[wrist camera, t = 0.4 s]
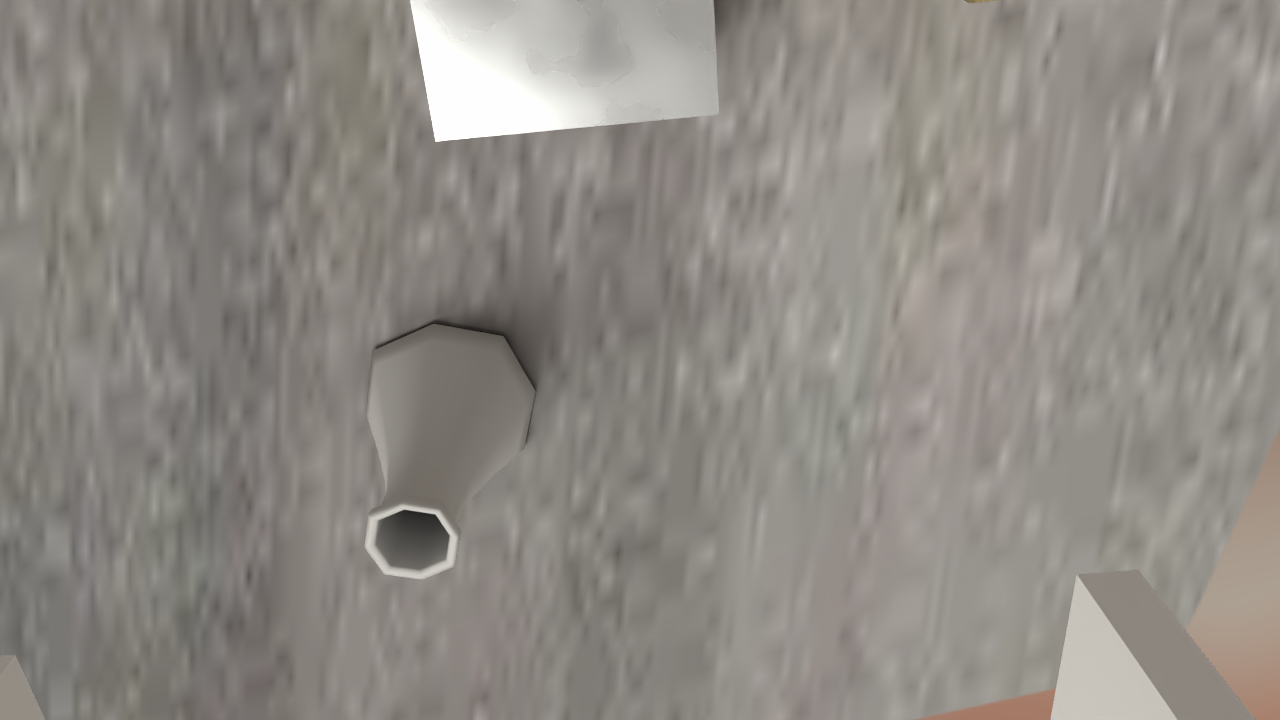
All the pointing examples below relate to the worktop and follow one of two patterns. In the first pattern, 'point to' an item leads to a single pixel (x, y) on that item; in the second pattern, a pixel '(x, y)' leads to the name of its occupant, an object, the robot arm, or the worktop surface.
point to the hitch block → (564, 63)
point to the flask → (439, 439)
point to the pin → (975, 0)
